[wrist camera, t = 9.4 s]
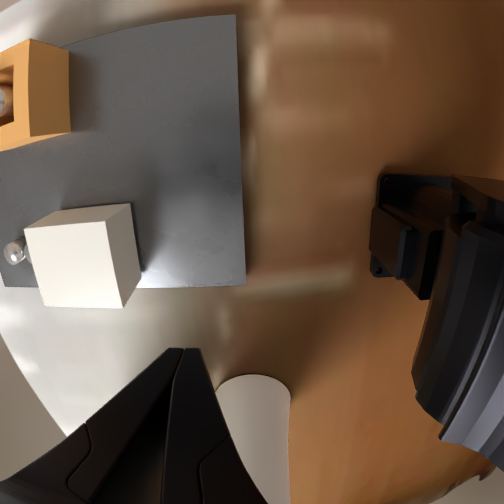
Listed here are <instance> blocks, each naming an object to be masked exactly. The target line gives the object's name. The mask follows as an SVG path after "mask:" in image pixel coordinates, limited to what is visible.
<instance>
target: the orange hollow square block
mask: <svg viewBox="0 0 504 504" xmlns="http://www.w3.org/2000/svg"><path fill="white" fill-rule="evenodd" d="M0 86H1V87H13V106H14V116H3V117H0V151H4V150H9V149H13V148H16V147H19V146H23V145H26V144H29V143H33V142H36V141H40V140H43V139H47V138H51V137H55V136H59V135H63V134H67V133H71V125H70V108H69V51H67V50H64V49H62V48H59V47H56V46H53V45H49V44H46V43H43V42H40V41H37V40H33V39H27V40H25V41H23V42H21V43H19V44H17V45H15V46H13V47H11V48H9V49H7V50H5V51H3V52H1V53H0Z"/></svg>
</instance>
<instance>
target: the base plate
mask: <svg viewBox="0 0 504 504" xmlns="http://www.w3.org/2000/svg"><path fill="white" fill-rule="evenodd" d="M61 48H62V49H64V50H67V51H69V108H70V125H71V133H67V134H63V135H59V136H55V137H51V138H47V139H43V140H40V141H36V142H33V143H29V144H26V145H23V146H19V147H16V148H13V149H9V150H4V151H0V272H1V276H2V279H3V282H4V285H5V287H38V288H39V286H38V283H37V279H36V276H35V273H34V269H33V265H32V262H31V258H30V254H29V250H28V246H27V241H26V237H25V233H24V228H26V227H28V226H30V225H31V224H33V223H35V222H37V221H38V220H40V219H42V218H44V217H46V216H47V215H49V214H51V213H53V212H55V211H59V210H68V209H77V208H86V207H96V206H106V205H116V204H128V203H130V206H131V214H132V221H133V228H134V235H135V241H136V248H137V254H138V260H139V265H140V271H141V276H142V278H141V280H140V282H139V283H138V285H137V286H136V288H166V287H211V286H243V285H246V261H245V239H244V215H243V191H242V167H241V141H240V114H239V87H238V58H237V27H236V14H233V15H217V16H205V17H195V18H187V19H179V20H172V21H165V22H159V23H153V24H148V25H143V26H138V27H133V28H128V29H124V30H119V31H115V32H111V33H107V34H103V35H100V36H96V37H92V38H89V39H86V40H82V41H79V42H76V43H73V44H70V45H67V46H64V47H61ZM3 116H14V106H13V87H1V86H0V117H3Z"/></svg>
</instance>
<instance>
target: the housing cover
mask: <svg viewBox="0 0 504 504" xmlns="http://www.w3.org/2000/svg"><path fill="white" fill-rule="evenodd" d="M24 233H25V237H26V241H27V246H28V250H29V254H30V258H31V262H32V265H33V269H34V273H35V276H36V279H37V283H38V286H39V289H40V293H41V296H42V299H43V302H44V305H45V306H59V307H86V308H123V307H124V306H125V304H126V302H127V301H128V299H129V298H130V296H131V294H132V293H133V291H134V289H135V288H136V286H137V285H138V283H139V282H140V280H141V278H142V276H141V271H140V265H139V260H138V254H137V248H136V241H135V235H134V228H133V221H132V214H131V206H130V203H128V204H116V205H106V206H96V207H86V208H77V209H68V210H59V211H55V212H53V213H51V214H49V215H47V216H46V217H44V218H42V219H40V220H38V221H37V222H35V223H33V224H31V225H30V226H28V227H26V228H24Z"/></svg>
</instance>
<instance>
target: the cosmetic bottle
mask: <svg viewBox="0 0 504 504" xmlns="http://www.w3.org/2000/svg"><path fill="white" fill-rule="evenodd" d="M215 394H216V396H217V399H218V402H219V405H220V407H221V410H222V413H223V416H224V418H225V421H226V424H227V426H228V429H229V431H230V434H231V437H232V439H233V441H234V444H235V446H236V449H237V451H238V453H239V456H240V458H241V460H242V462H243V464H244V466H245V468H246V470H247V472H248V473H249V475H250V477H251V478H252V480H253V482H254V483H255V485H256V486H257V488H258V489H259V491H260V492H261V494H262V495H263V497H264V498H265V500H266V501H267V503H268V504H290V490H289V465H288V426H289V410H290V401H291V398H290V393H289V391H288V389H287V388H286V387H285V386H284V385H283V384H282V383H281V382H279V381H278V380H276V379H274V378H271V377H268V376H263V375H242V376H238V377H235V378H232V379H230V380H228V381H226V382H224V383H223V384H222V385H221V386H220V387H219V388H218V389H217V391H216V392H215Z"/></svg>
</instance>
